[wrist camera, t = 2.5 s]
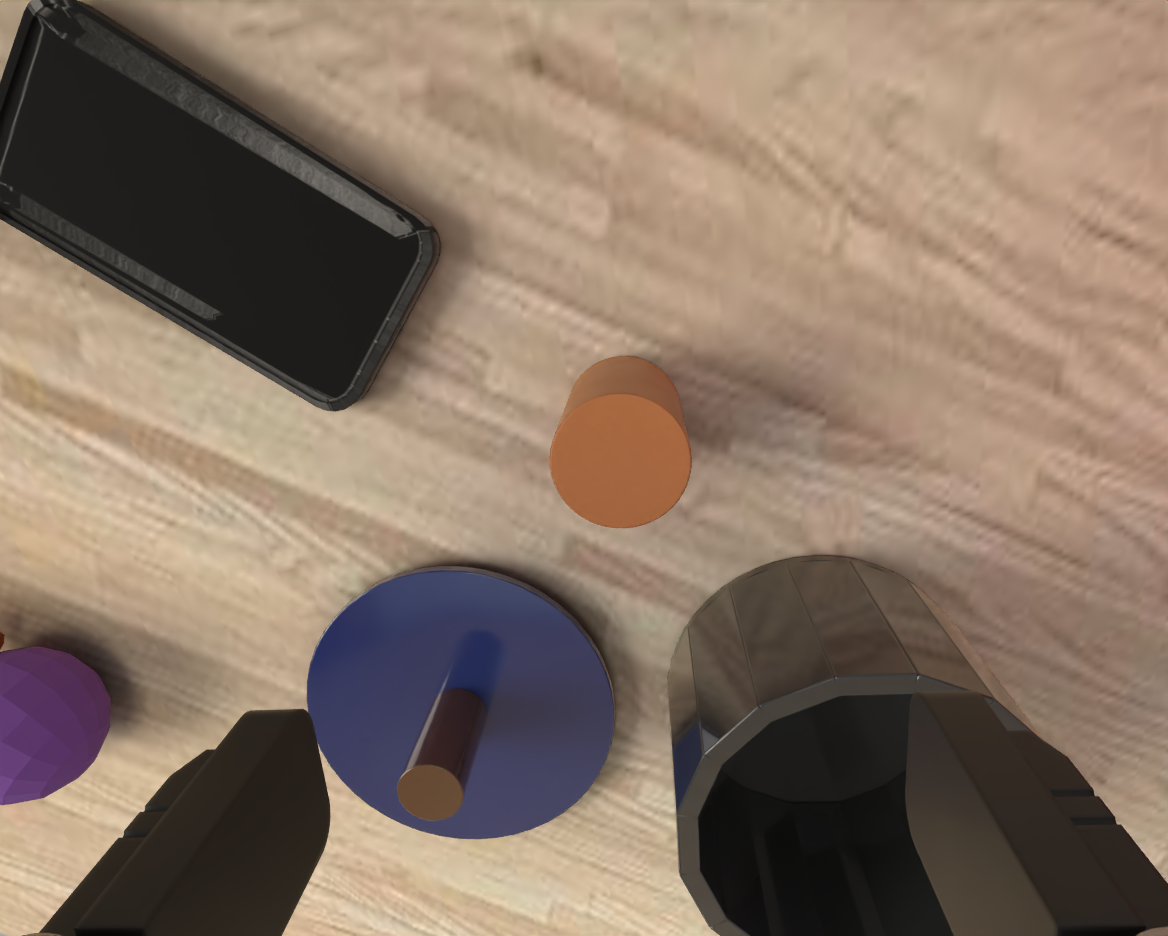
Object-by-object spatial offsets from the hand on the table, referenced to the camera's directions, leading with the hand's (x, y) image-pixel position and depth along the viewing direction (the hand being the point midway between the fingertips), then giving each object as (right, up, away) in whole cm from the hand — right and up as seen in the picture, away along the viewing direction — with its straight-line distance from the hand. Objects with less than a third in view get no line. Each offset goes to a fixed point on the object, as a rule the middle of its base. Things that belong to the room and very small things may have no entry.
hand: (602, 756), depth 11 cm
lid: (-5, -6, +23) cm, 24 cm away
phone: (-13, +13, +18) cm, 26 cm away
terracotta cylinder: (+1, +6, +19) cm, 20 cm away
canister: (+9, -5, +22) cm, 24 cm away
